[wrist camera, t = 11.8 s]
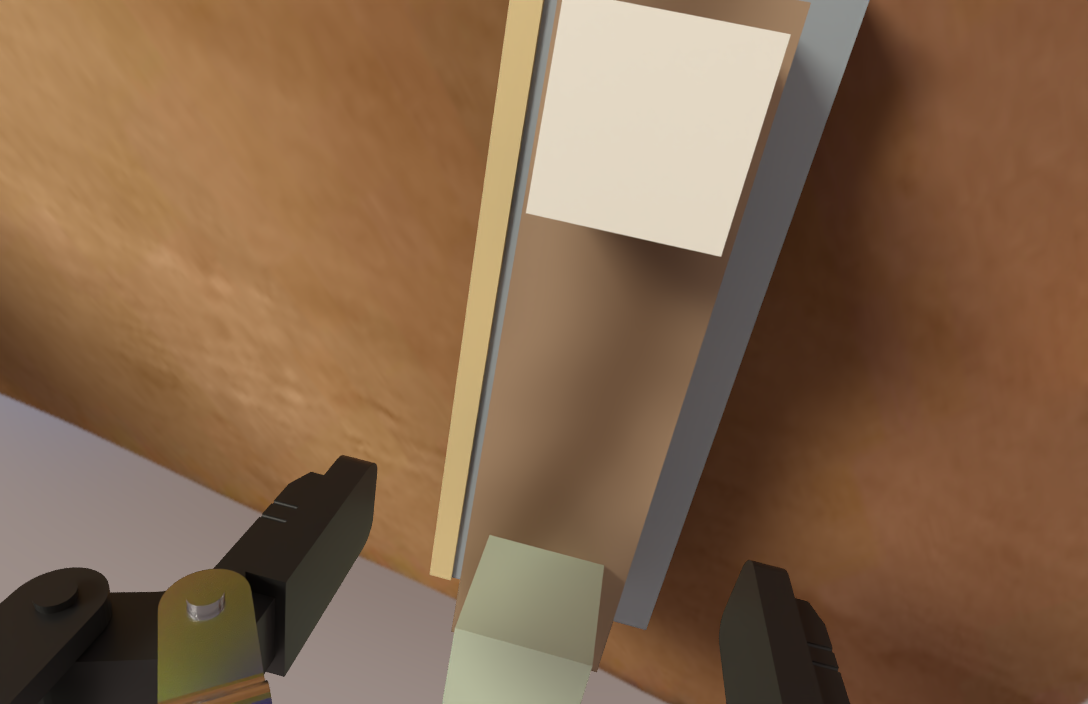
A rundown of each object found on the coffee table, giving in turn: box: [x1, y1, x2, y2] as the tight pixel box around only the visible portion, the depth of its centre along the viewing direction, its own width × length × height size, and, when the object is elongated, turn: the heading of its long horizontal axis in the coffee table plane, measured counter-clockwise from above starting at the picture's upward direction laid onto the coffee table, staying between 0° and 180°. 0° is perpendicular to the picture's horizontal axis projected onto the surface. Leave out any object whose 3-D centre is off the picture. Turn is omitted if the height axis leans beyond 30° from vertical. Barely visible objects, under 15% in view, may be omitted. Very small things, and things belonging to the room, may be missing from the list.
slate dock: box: [430, 0, 869, 630], centre depth 25 cm, size 10×26×4 cm, turn 170°
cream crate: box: [526, 0, 791, 257], centre depth 14 cm, size 4×4×4 cm
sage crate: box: [442, 535, 604, 704], centre depth 20 cm, size 4×4×4 cm
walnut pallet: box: [452, 0, 811, 672], centre depth 21 cm, size 6×22×4 cm, turn 170°
